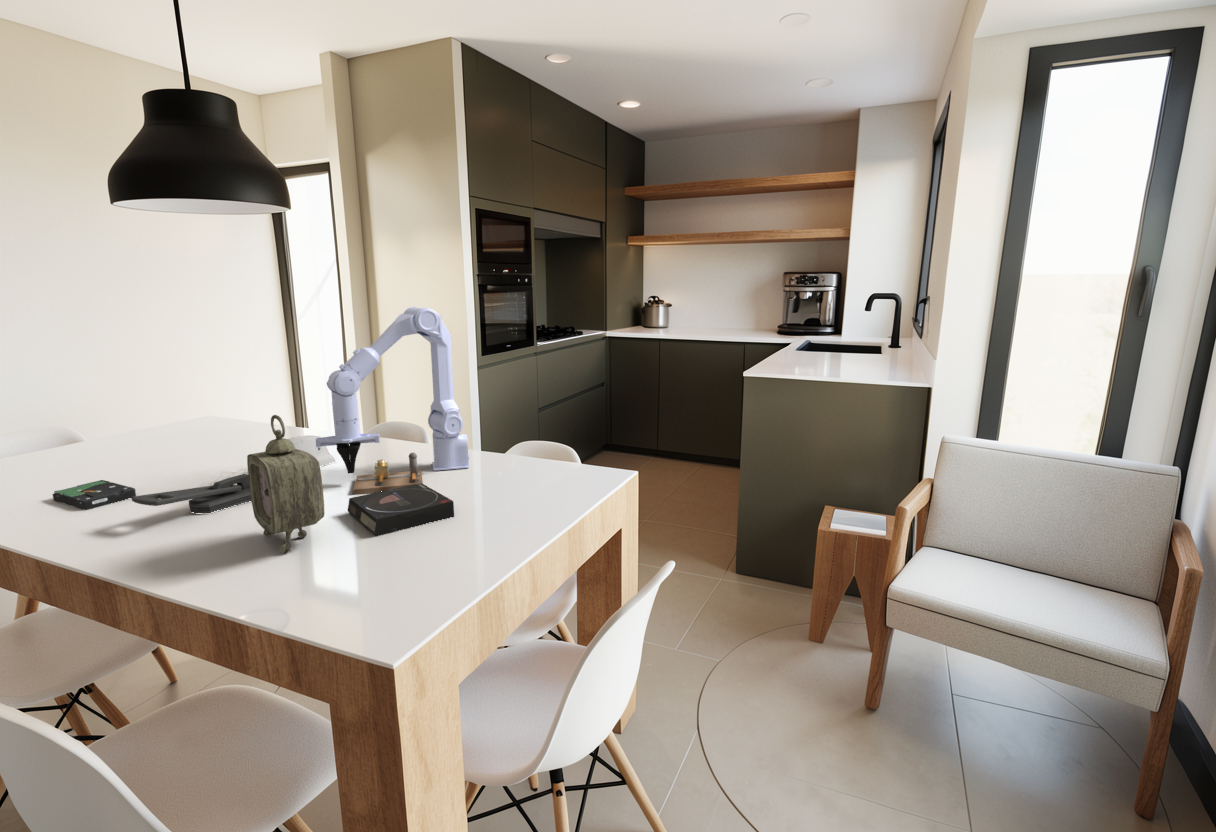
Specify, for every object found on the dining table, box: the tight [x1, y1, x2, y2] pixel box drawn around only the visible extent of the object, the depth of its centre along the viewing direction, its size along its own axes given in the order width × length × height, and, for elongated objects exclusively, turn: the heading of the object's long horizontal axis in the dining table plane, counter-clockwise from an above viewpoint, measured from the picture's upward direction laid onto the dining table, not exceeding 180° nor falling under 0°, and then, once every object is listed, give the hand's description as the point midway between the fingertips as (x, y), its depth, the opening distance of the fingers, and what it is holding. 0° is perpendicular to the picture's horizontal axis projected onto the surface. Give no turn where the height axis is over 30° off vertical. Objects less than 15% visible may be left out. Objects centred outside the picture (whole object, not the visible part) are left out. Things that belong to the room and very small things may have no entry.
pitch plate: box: [352, 452, 424, 495], centre depth 154 cm, size 16×12×7 cm
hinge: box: [288, 434, 336, 466], centre depth 167 cm, size 17×5×10 cm, turn 156°
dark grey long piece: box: [131, 473, 252, 514], centre depth 135 cm, size 9×7×25 cm
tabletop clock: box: [246, 414, 325, 554], centre depth 117 cm, size 14×9×25 cm, turn 45°
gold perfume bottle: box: [374, 459, 390, 482], centre depth 153 cm, size 3×7×4 cm, turn 18°
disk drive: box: [52, 479, 137, 511], centre depth 143 cm, size 10×3×15 cm
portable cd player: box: [347, 483, 455, 537], centre depth 132 cm, size 16×17×4 cm
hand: (351, 472), depth 153 cm, fingers closed
